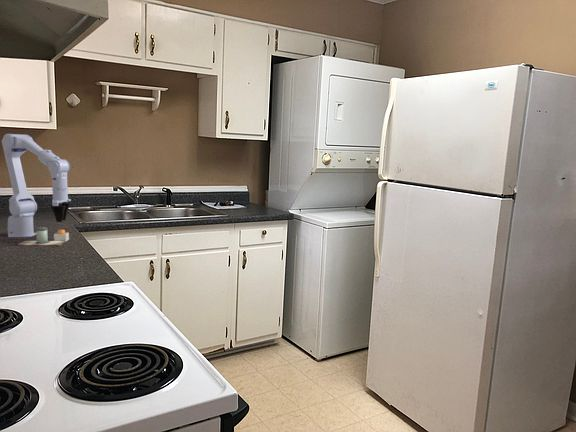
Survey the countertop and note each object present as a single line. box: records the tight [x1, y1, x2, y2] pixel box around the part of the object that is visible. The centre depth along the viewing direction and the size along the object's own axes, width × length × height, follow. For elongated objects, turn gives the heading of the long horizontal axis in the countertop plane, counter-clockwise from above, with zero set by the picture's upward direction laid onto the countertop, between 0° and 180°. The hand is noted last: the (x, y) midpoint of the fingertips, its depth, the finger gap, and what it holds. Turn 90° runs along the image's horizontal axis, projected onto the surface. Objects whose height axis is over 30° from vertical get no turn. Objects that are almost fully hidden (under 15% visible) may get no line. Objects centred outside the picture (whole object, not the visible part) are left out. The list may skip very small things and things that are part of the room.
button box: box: [53, 232, 70, 242], centre depth 204 cm, size 5×5×3 cm
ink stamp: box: [35, 226, 49, 243], centre depth 196 cm, size 4×4×6 cm
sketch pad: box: [17, 240, 67, 247], centre depth 197 cm, size 16×8×1 cm, turn 99°
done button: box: [57, 229, 66, 234], centre depth 204 cm, size 3×3×3 cm
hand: (61, 220), depth 203 cm, fingers open, 4 cm apart
